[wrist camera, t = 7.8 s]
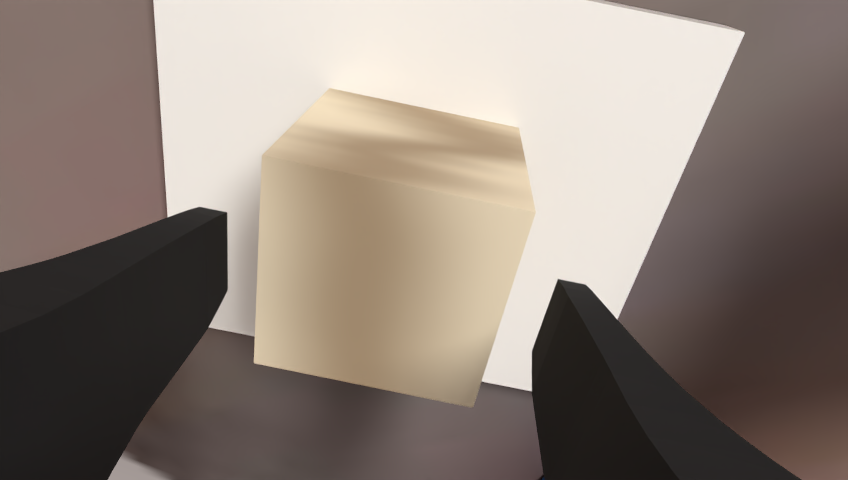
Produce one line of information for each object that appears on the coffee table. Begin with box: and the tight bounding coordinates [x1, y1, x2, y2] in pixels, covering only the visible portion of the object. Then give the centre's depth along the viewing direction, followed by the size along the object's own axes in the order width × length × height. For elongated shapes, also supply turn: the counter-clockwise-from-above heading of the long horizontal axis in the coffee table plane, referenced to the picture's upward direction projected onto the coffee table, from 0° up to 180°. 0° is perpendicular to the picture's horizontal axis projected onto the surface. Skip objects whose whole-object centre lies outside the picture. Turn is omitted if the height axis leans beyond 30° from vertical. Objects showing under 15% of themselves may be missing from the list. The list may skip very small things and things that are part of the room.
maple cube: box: [254, 88, 536, 408], centre depth 13 cm, size 5×5×5 cm
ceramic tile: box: [153, 0, 745, 391], centre depth 16 cm, size 14×12×1 cm
